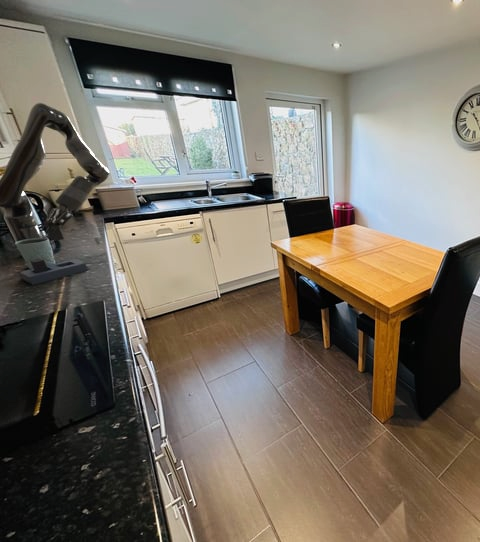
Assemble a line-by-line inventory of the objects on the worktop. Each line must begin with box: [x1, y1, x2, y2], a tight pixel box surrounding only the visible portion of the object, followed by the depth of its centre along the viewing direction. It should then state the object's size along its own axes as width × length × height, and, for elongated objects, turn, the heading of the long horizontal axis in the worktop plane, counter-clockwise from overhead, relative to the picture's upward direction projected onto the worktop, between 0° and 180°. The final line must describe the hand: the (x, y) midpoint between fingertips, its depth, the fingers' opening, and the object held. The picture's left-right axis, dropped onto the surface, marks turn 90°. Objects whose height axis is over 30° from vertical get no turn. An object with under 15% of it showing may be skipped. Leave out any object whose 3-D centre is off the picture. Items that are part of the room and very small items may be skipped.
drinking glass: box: [14, 237, 56, 270], centre depth 128 cm, size 10×10×12 cm
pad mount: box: [19, 258, 89, 286], centre depth 121 cm, size 10×18×4 cm, turn 153°
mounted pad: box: [30, 258, 48, 273], centre depth 117 cm, size 4×3×8 cm
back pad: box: [42, 219, 65, 242], centre depth 120 cm, size 4×3×8 cm
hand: (47, 231), depth 119 cm, fingers closed on back pad, 4 cm apart
